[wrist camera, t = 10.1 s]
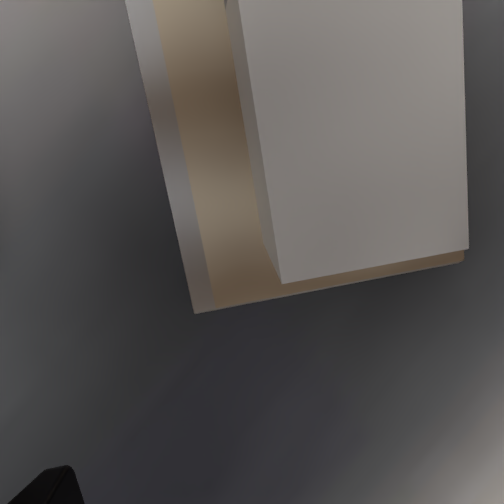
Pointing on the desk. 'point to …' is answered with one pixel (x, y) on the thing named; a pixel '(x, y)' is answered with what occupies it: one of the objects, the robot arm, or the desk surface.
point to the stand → (216, 159)
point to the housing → (353, 129)
